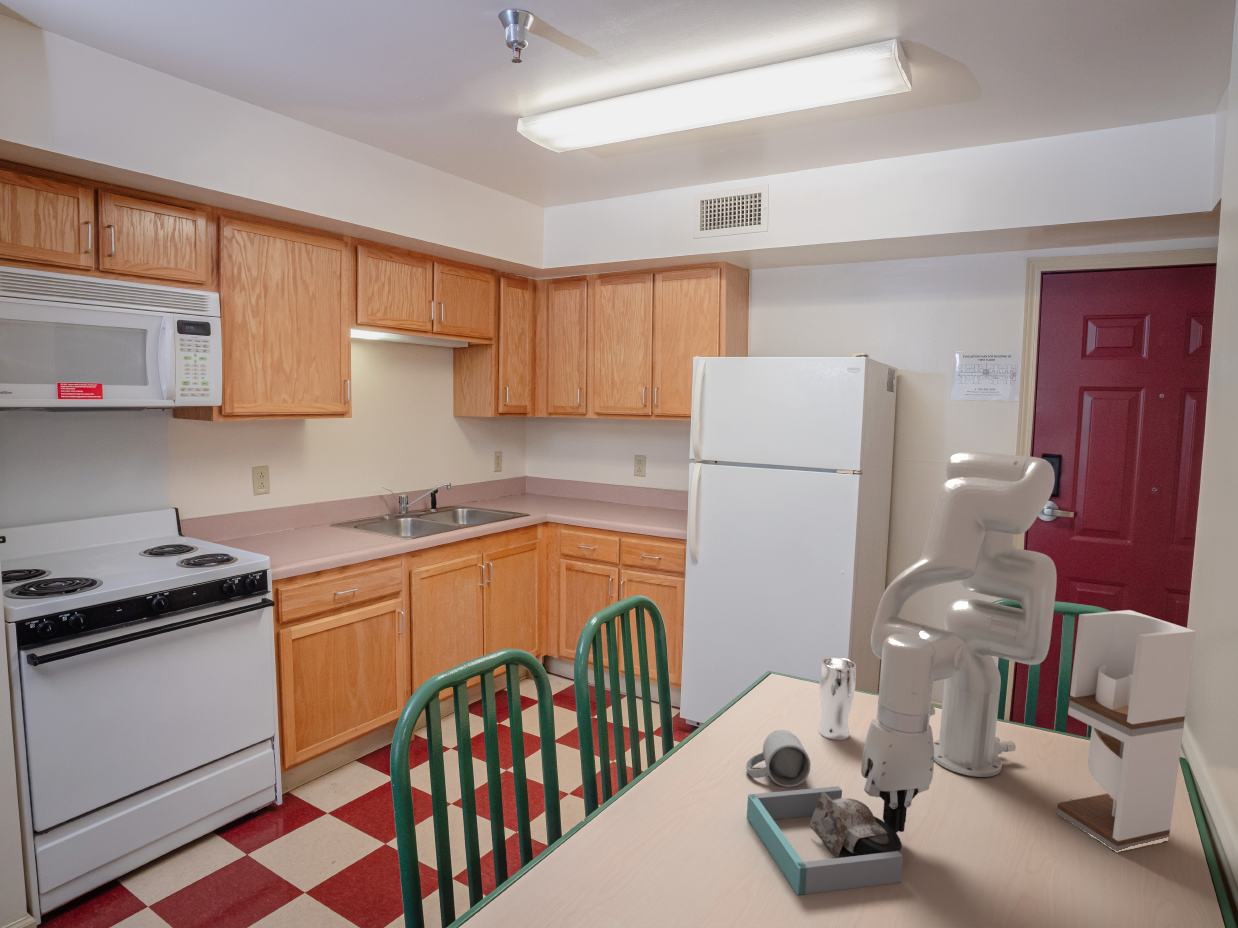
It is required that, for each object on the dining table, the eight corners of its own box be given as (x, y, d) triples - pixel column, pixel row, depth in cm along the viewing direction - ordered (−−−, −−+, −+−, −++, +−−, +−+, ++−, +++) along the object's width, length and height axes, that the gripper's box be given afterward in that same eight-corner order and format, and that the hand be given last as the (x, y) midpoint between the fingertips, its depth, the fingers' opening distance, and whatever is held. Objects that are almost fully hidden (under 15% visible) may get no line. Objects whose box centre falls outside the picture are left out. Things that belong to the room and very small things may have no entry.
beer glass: (851, 728, 152) (857, 659, 151) (850, 744, 146) (856, 671, 144) (817, 722, 155) (822, 654, 153) (814, 737, 148) (820, 666, 146)
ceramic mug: (799, 764, 137) (801, 725, 137) (809, 788, 129) (812, 746, 128) (742, 762, 138) (744, 723, 137) (749, 786, 129) (751, 745, 129)
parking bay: (836, 808, 123) (838, 785, 123) (901, 881, 106) (903, 856, 105) (746, 817, 120) (748, 794, 119) (797, 894, 102) (799, 868, 102)
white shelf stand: (1106, 804, 128) (1129, 609, 124) (1168, 841, 118) (1196, 630, 114) (1056, 814, 124) (1079, 614, 120) (1116, 853, 114) (1143, 636, 110)
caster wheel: (902, 873, 111) (855, 883, 106) (851, 818, 121) (806, 825, 116) (918, 837, 110) (871, 845, 105) (865, 784, 119) (820, 790, 114)
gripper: (930, 702, 118) (920, 808, 121) (846, 708, 115) (838, 817, 117) (961, 723, 111) (950, 836, 113) (873, 730, 108) (863, 847, 110)
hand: (893, 826), depth 115 cm, fingers closed
